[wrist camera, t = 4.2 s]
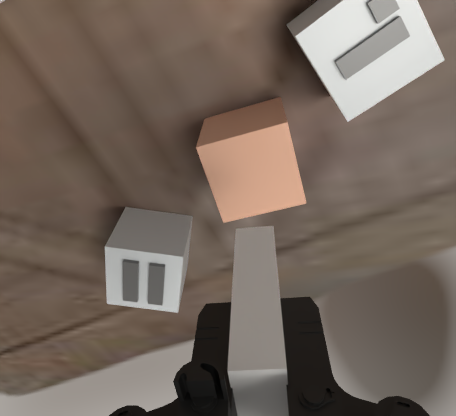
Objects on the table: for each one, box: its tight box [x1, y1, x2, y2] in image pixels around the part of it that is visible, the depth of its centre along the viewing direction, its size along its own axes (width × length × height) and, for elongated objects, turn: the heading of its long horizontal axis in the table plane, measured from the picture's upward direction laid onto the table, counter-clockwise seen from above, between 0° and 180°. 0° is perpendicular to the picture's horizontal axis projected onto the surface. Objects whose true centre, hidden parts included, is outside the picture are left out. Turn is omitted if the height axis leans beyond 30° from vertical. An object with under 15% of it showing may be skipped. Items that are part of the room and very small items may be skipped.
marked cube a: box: [105, 207, 193, 313], centre depth 28 cm, size 5×5×5 cm
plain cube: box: [196, 97, 306, 223], centre depth 24 cm, size 5×5×5 cm
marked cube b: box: [287, 0, 444, 121], centre depth 20 cm, size 5×5×5 cm
